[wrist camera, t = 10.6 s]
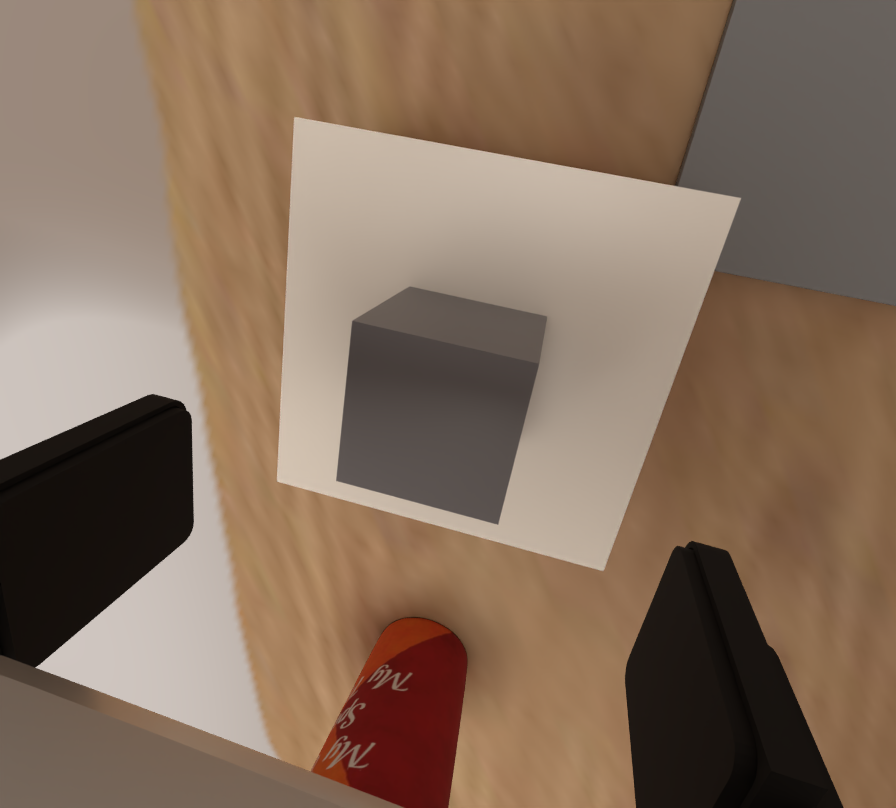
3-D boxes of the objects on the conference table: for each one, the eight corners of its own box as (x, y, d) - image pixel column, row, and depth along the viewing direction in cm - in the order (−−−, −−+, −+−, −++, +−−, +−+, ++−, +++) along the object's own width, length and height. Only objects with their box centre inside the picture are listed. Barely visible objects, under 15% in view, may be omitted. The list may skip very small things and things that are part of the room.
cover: (733, 197, 15) (821, 200, 10) (602, 557, 20) (613, 686, 15) (306, 119, 17) (185, 87, 11) (286, 471, 22) (196, 561, 17)
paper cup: (389, 581, 31) (263, 856, 18) (507, 643, 31) (464, 964, 18) (345, 663, 34) (212, 944, 21) (452, 719, 34) (382, 1036, 21)
